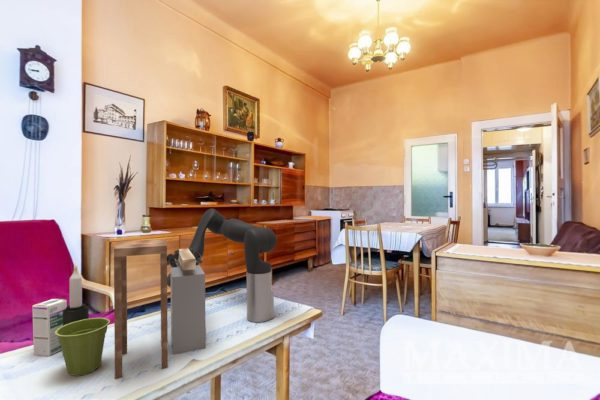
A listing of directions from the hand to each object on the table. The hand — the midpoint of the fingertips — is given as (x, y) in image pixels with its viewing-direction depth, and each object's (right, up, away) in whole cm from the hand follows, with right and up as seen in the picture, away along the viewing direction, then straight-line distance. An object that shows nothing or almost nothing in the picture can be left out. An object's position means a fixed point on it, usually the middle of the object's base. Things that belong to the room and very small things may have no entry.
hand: (184, 251), depth 104 cm
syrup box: (-35, -27, -13) cm, 46 cm away
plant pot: (-18, -27, -23) cm, 40 cm away
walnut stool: (-5, -27, -18) cm, 33 cm away
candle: (-27, -27, -13) cm, 40 cm away
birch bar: (+2, -3, -4) cm, 5 cm away
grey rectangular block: (+4, -27, -7) cm, 28 cm away
